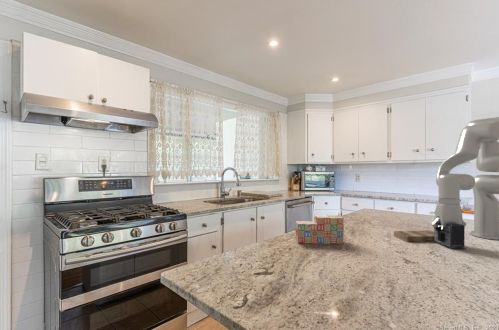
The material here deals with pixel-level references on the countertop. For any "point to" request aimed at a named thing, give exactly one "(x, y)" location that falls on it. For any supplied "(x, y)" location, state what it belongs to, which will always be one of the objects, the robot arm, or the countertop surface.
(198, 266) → the countertop surface
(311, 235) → the stack of blocks
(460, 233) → the small box
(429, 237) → the walnut board
